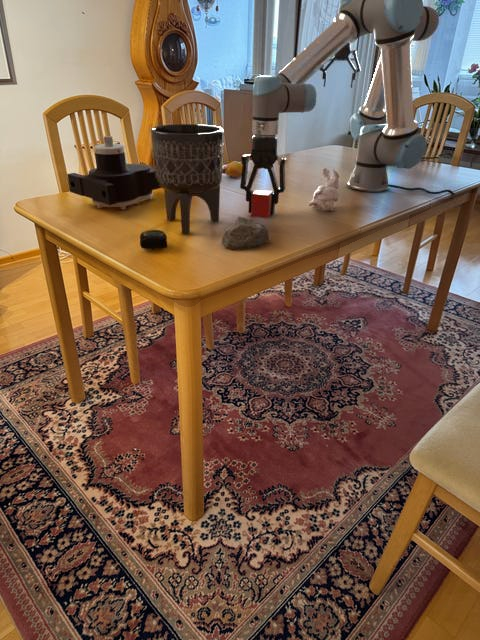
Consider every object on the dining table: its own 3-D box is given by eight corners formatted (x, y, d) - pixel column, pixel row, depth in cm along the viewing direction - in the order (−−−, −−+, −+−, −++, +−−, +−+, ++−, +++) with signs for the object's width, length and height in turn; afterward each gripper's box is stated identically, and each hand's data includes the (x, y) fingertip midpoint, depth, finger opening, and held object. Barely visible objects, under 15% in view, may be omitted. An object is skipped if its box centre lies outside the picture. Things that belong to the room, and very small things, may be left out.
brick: (255, 211, 148) (256, 189, 144) (271, 212, 147) (272, 190, 143) (251, 216, 143) (252, 193, 139) (267, 218, 142) (268, 195, 138)
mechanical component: (60, 135, 140) (138, 127, 160) (72, 203, 151) (143, 187, 171) (101, 144, 128) (180, 134, 148) (111, 217, 139) (183, 198, 159)
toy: (216, 169, 183) (223, 161, 196) (222, 185, 186) (228, 175, 199) (242, 161, 180) (247, 153, 193) (247, 176, 183) (252, 167, 196)
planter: (143, 226, 132) (134, 128, 119) (187, 210, 146) (183, 122, 133) (195, 240, 123) (191, 136, 109) (236, 222, 137) (238, 128, 123)
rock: (255, 233, 128) (256, 211, 124) (276, 242, 122) (278, 219, 119) (217, 244, 120) (217, 220, 117) (239, 254, 115) (239, 230, 111)
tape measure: (140, 252, 115) (139, 238, 113) (141, 242, 120) (140, 229, 119) (167, 251, 116) (166, 237, 114) (167, 241, 121) (166, 228, 120)
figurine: (343, 205, 155) (348, 167, 148) (324, 216, 144) (329, 175, 137) (322, 201, 158) (326, 164, 152) (302, 211, 148) (305, 171, 141)
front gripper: (229, 135, 132) (229, 213, 143) (295, 139, 128) (289, 219, 139) (236, 131, 138) (235, 206, 150) (299, 135, 134) (293, 212, 145)
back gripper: (317, 37, 220) (312, 86, 231) (369, 38, 215) (362, 88, 225) (318, 38, 226) (314, 85, 237) (370, 38, 221) (363, 87, 232)
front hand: (261, 212), depth 144 cm, fingers open, 6 cm apart
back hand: (338, 87), depth 231 cm, fingers open, 13 cm apart
